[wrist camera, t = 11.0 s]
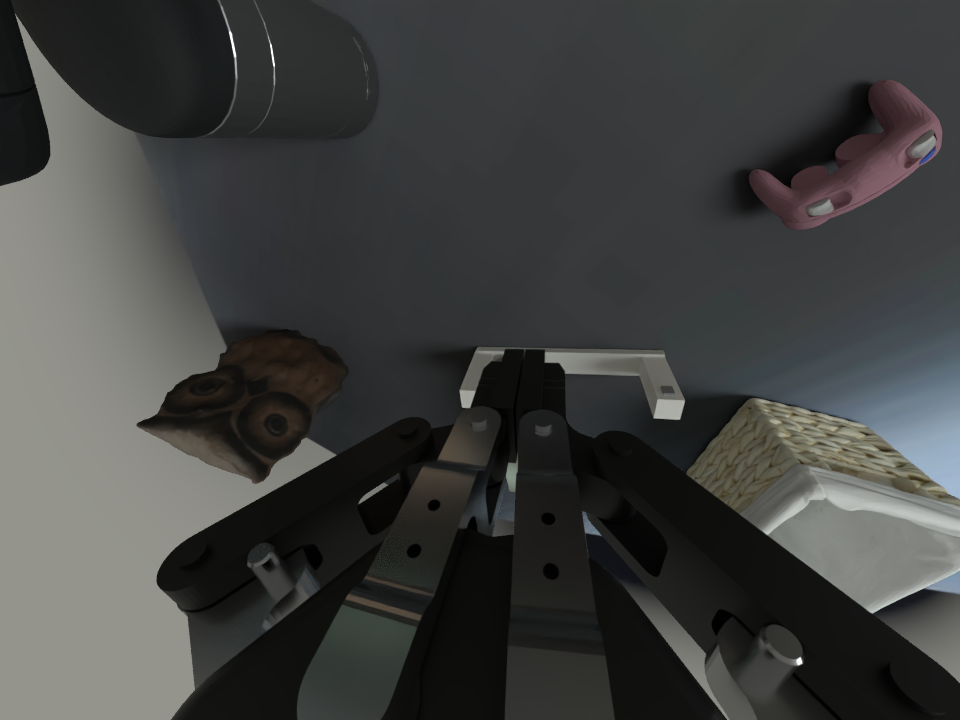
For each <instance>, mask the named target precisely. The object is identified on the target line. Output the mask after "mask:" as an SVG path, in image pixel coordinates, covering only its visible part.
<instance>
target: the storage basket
mask: <svg viewBox="0 0 960 720" xmlns="http://www.w3.org/2000/svg"><path fill="white" fill-rule="evenodd" d="M686 474H687V475H688V476H689V477H691V478H692V479H693V480H695V481H696V482H697V483H699V484H700V485H701V486H703V487H704V488H705V489H707V490H708V491H709V492H711V493H712V494H713V495H715V496H716V497H717V498H719V499H720V500H721V501H723V502H724V503H725V504H727V505H728V506H729V507H731V508H732V509H733V510H735V511H736V512H737V513H739V514H740V515H741V516H743V517H744V518H745V519H747V520H748V521H749V522H751V523H752V524H753V525H755V526H756V527H757V528H758V529H760V530H761V531H762V532H764V533H765V534H766V535H768V536H769V537H770V538H772V539H773V540H774V541H776V542H777V543H778V544H780V545H781V546H782V547H784V548H785V549H786V550H788V551H789V552H790V553H792V554H793V555H794V556H796V557H797V558H798V559H800V560H801V561H802V562H804V563H805V564H806V565H808V566H809V567H810V568H812V569H813V570H814V571H816V572H817V573H818V574H820V575H821V576H822V577H824V578H825V579H826V580H828V581H829V582H830V583H832V584H833V585H834V586H836V587H837V588H838V589H840V590H841V591H842V592H844V593H845V594H846V595H848V596H849V597H850V598H852V599H853V600H854V601H856V602H857V603H858V604H860V605H861V606H862V607H864V608H865V609H866V610H868V611H869V612H870V613H873V612H875V611H877V610H879V609H881V608H883V607H885V606H887V605H889V604H891V603H893V602H895V601H897V600H899V599H901V598H903V597H905V596H907V595H910V594H912V593H914V592H916V591H919V590H921V589H923V588H925V587H927V586H929V585H932V584H934V583H936V582H938V581H940V580H942V579H944V578H946V577H948V576H950V575H952V574H954V573H956V572H958V571H960V500H959V499H958V498H956V497H954V496H951V495H949V494H948V492H947V491H946V490H945V489H944V488H943V487H942V486H940V485H939V484H937V483H936V482H934V481H933V480H932V479H931V478H929V477H928V476H927V475H925V473H924V472H923V471H921V470H920V469H919V468H918V467H916V466H915V465H914V464H912V463H911V462H910V461H909V460H908V459H906V458H905V457H904V456H903V455H902V454H901V453H900V452H898V451H896V450H895V449H894V448H893V447H892V446H891V445H890V444H889V443H887V442H886V441H885V440H884V439H883V438H881V437H880V436H879V435H877V434H876V433H875V432H874V431H873V430H871V429H870V428H869V427H867V426H865V425H863V424H860V423H857V422H852V421H847V420H845V419H842V418H838V417H832V416H829V415H826V414H823V413H818V412H810V411H809V410H806V409H803V408H800V407H794V406H786V405H784V404H781V403H777V402H770V401H767V400H764V399H759V398H751V399H748V400H747V401H746V402H745V403H744V405H743V406H742V407H741V408H739V409H738V411H737V413H736V414H735V415H734V416H733V417H732V419H731V420H730V422H729V423H727V424H726V425H725V427H724V428H723V429H722V430H721V432H720V433H719V435H718V436H717V437H715V438H714V439H713V440H712V441H711V442H710V443H709V445H708V446H707V448H706V450H705V451H704V452H703V453H702V454H701V455H700V456H699V458H698V459H697V460H696V462H695V463H694V464H693V465H692V466H691V467H690V468H689V469H688V471H687V473H686Z"/></svg>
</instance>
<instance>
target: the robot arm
mask: <svg viewBox="0 0 960 720" xmlns="http://www.w3.org/2000/svg"><path fill="white" fill-rule="evenodd" d="M15 14H16V15H17V17H18V18H19V20H20V21H21V22H22V24H23V25H24V27H25V29H26V30H27V32H28V33H29V35H30V37H31V38H32V40H33V41H34V43H35V44H36V46H37V47H38V48H39V50H40V51H41V53H42V54H43V55H44V57H45V58H46V59H47V60H48V62H49V63H50V64H51V66H52V67H53V68H54V69H55V70H56V71H57V73H58V74H59V75H60V76H61V77H62V79H63V80H64V81H65V82H66V83H67V84H68V85H69V86H70V87H71V88H72V89H73V90H74V91H75V92H76V93H77V94H78V95H79V96H80V97H81V98H82V99H83V100H85V101H86V102H87V103H88V104H90V105H91V106H92V107H93V108H94V109H95V110H97V111H98V112H100V113H101V114H102V115H104V116H105V117H107V118H109V119H110V120H112V121H113V122H115V123H117V124H119V125H121V126H123V127H125V128H127V129H129V130H132V131H135V132H138V133H141V134H145V135H148V136H154V137H163V138H196V137H197V138H237V137H254V138H348V137H351V136H354V135H356V134H358V133H359V132H361V131H362V130H363V129H364V128H365V127H366V126H367V124H368V123H369V122H370V120H371V118H372V116H373V114H374V111H375V108H376V103H377V97H378V82H377V73H376V69H375V65H374V61H373V58H372V56H371V54H370V51H369V49H368V47H367V45H366V43H365V42H364V40H363V39H362V37H361V36H360V34H359V33H358V32H357V31H356V30H355V29H354V28H353V27H352V25H351V24H349V23H348V22H347V21H345V20H344V19H342V18H341V17H339V16H337V15H336V14H334V13H332V12H330V11H328V10H327V9H325V8H323V7H321V6H319V5H317V4H316V3H314V2H313V1H311V0H0V186H2V185H6V184H10V183H13V182H17V181H20V180H23V179H26V178H29V177H31V176H33V175H35V174H37V173H38V172H40V171H41V170H43V169H44V168H45V166H46V165H47V163H48V160H49V157H50V140H49V134H48V128H47V125H46V121H45V117H44V114H43V110H42V106H41V102H40V99H39V95H38V91H37V88H36V85H35V83H34V82H35V81H34V77H33V74H32V70H31V67H30V63H29V60H28V56H27V53H26V50H25V47H24V43H23V39H22V36H21V33H20V29H19V26H18V22H17V19H16V16H15ZM517 453H518V472H517V473H516V487H515V511H514V535H506V536H497V537H492V536H493V531H494V527H495V523H496V519H497V515H498V511H499V507H500V503H501V500H502V496H503V492H504V488H505V484H506V473H507V468H508V463H516V460H517ZM396 474H397V476H398V479H397V480H396V481H394V482H393V483H391V484H389V485H388V486H386V487H385V488H383V489H382V490H380V491H379V492H377V493H376V494H374V495H373V496H371V497H370V498H368V499H367V500H365V501H364V502H362V503H360V504H358V503H359V501H360V499H361V498H362V497H363V496H364V495H365V494H366V493H368V492H370V491H371V490H373V489H374V488H376V487H377V486H379V485H380V484H382V483H383V482H385V481H387V480H388V479H390V478H391V477H393V476H394V475H396ZM582 511H584V512H586V514H587V517H588V519H589V521H590V522H591V523H592V525H593V526H594V527H595V528H596V529H597V530H598V531H599V533H600V534H601V535H602V536H603V537H604V538H605V539H606V540H607V542H608V543H609V544H610V545H611V546H612V547H613V549H614V550H615V551H616V552H617V553H618V554H619V555H620V556H621V558H622V559H623V560H624V561H625V562H626V563H627V564H628V566H629V567H630V568H631V569H632V570H633V571H634V572H635V573H636V575H637V576H638V577H639V578H640V579H641V580H642V581H643V583H644V584H645V585H646V586H647V587H648V588H649V589H650V591H652V593H653V594H654V595H655V596H656V597H657V599H658V600H659V601H660V602H661V603H662V604H663V605H664V606H665V608H666V609H667V610H668V611H669V612H670V613H671V614H672V616H673V617H674V618H675V619H676V620H677V621H678V622H679V624H680V625H681V626H682V627H683V628H684V629H685V630H686V631H687V633H688V634H689V635H690V636H691V637H692V638H693V639H694V640H695V642H696V643H697V644H698V645H699V646H700V647H701V649H703V651H704V652H705V653H706V657H705V674H706V677H707V681H708V684H709V686H710V689H711V690H712V692H713V694H714V696H715V698H716V699H717V701H718V702H719V704H720V705H721V707H722V708H723V710H724V711H725V713H726V714H727V716H728V717H729V719H730V720H960V683H959V682H958V681H957V680H956V679H955V678H954V677H953V676H952V675H951V674H950V673H948V672H947V671H946V670H945V669H944V668H943V667H942V666H940V665H939V664H938V663H937V662H935V661H934V660H933V659H931V658H930V657H929V656H928V655H926V654H925V653H924V652H922V651H921V650H920V649H918V648H917V647H915V646H914V645H913V644H912V643H910V642H909V641H908V640H906V639H905V638H904V637H902V636H901V635H900V634H898V633H897V632H896V631H894V630H893V629H892V628H890V627H889V626H888V625H886V624H885V623H884V622H882V621H881V620H880V619H878V618H877V617H875V616H874V615H873V614H872V613H870V612H869V611H868V610H866V609H865V608H864V607H862V606H861V605H860V604H858V603H857V602H856V601H854V600H853V599H852V598H850V597H849V596H848V595H846V594H845V593H844V592H842V591H841V590H840V589H838V588H837V587H836V586H834V585H833V584H832V583H830V582H829V581H828V580H826V579H825V578H824V577H822V576H821V575H820V574H818V573H817V572H816V571H814V570H813V569H812V568H810V567H809V566H808V565H806V564H805V563H804V562H802V561H801V560H800V559H798V558H797V557H796V556H794V555H793V554H792V553H790V552H789V551H788V550H786V549H785V548H784V547H782V546H781V545H780V544H778V543H777V542H776V541H774V540H773V539H772V538H770V537H769V536H768V535H766V534H765V533H764V532H762V531H761V530H760V529H758V528H757V527H756V526H755V525H753V524H752V523H751V522H749V521H748V520H747V519H745V518H744V517H743V516H741V515H740V514H739V513H737V512H736V511H735V510H733V509H732V508H731V507H729V506H728V505H727V504H725V503H724V502H723V501H721V500H720V499H719V498H717V497H716V496H715V495H713V494H712V493H711V492H709V491H708V490H707V489H705V488H704V487H703V486H701V485H700V484H699V483H697V482H696V481H695V480H693V479H692V478H691V477H689V476H688V475H687V474H685V473H684V472H683V471H681V470H680V469H679V468H677V467H676V466H675V465H673V464H672V463H671V462H669V461H668V460H667V459H665V458H664V457H663V456H661V455H660V454H659V453H657V452H656V451H655V450H653V449H652V448H651V447H649V446H648V445H647V444H645V443H644V442H643V441H641V440H640V439H639V438H637V437H636V436H634V435H632V434H629V433H626V432H622V431H607V432H604V433H601V434H600V435H598V436H597V437H596V438H592V437H589V436H586V435H583V434H581V433H579V432H577V431H575V430H574V429H573V428H572V427H571V426H570V425H569V424H568V422H567V420H566V406H565V370H564V369H563V368H562V366H561V365H560V364H559V363H546V362H545V349H526V350H524V349H505V351H504V355H503V358H502V361H491V362H490V363H489V364H488V365H486V366H485V367H484V368H483V371H482V374H481V378H480V380H479V383H478V386H477V389H476V392H475V395H474V397H473V400H472V403H471V406H470V408H469V409H467V410H465V411H464V412H462V413H461V414H460V415H459V417H458V418H457V420H456V422H455V424H452V425H449V426H444V427H439V428H433V429H431V425H430V423H429V422H428V421H427V420H425V419H423V418H419V417H410V418H405V419H402V420H400V421H398V422H396V423H394V424H392V425H390V426H389V427H387V428H385V429H383V430H381V431H380V432H378V433H376V434H374V435H372V436H371V437H369V438H367V439H365V440H364V441H362V442H360V443H358V444H356V445H355V446H353V447H351V448H349V449H347V450H346V451H344V452H342V453H340V454H338V455H337V456H335V457H333V458H331V459H330V460H328V461H326V462H324V463H322V464H321V465H319V466H317V467H315V468H313V469H312V470H310V471H308V472H306V473H304V474H303V475H301V476H299V477H297V478H296V479H294V480H292V481H290V482H288V483H287V484H285V485H283V486H281V487H279V488H278V489H276V490H274V491H272V492H270V493H269V494H267V495H265V496H263V497H262V498H260V499H258V500H256V501H254V502H252V503H251V504H249V505H247V506H245V507H243V508H242V509H240V510H238V511H236V512H235V513H233V514H231V515H229V516H228V517H226V518H224V519H222V520H220V521H219V522H217V523H215V524H213V525H211V526H210V527H208V528H206V529H204V530H202V531H201V532H199V533H197V534H195V535H193V536H192V537H190V538H188V539H187V540H185V541H184V542H183V543H181V544H180V545H179V546H178V547H176V548H175V549H174V550H173V551H172V552H171V553H170V554H169V555H168V557H167V558H166V559H165V560H164V562H163V563H162V565H161V567H160V569H159V571H158V574H157V585H158V586H159V587H160V589H161V590H163V591H164V592H165V593H166V594H167V595H168V596H169V597H170V598H171V599H172V600H173V601H175V602H176V603H177V606H178V608H179V609H180V610H181V611H182V612H183V613H184V614H185V615H186V616H188V624H189V634H190V643H191V654H192V664H193V674H194V684H195V691H194V692H193V693H192V694H191V695H190V696H189V698H188V699H187V700H186V701H185V702H184V703H183V704H182V706H181V707H180V709H179V710H178V711H177V712H176V714H175V715H174V717H173V718H172V719H171V720H727V719H726V718H725V716H724V715H723V714H722V712H721V711H720V710H719V709H718V707H717V706H716V705H715V703H714V702H713V701H712V700H711V698H710V697H709V696H708V694H707V693H706V692H705V691H704V689H703V688H702V687H701V686H700V684H699V683H698V682H697V680H696V679H695V678H694V676H693V675H692V674H691V673H690V671H689V670H688V669H687V667H686V666H685V665H684V664H683V662H682V661H681V660H680V658H679V657H678V656H677V655H676V653H675V652H674V651H673V649H672V648H671V647H670V646H669V645H668V643H667V642H666V640H665V639H664V638H663V637H662V635H661V634H660V633H659V632H658V630H657V629H656V627H655V626H654V625H653V624H652V622H651V621H650V620H649V618H648V617H647V616H646V615H645V613H644V612H643V611H642V609H640V607H639V606H638V605H637V603H636V602H635V600H634V599H633V598H632V597H631V595H630V594H629V593H628V592H627V590H626V589H625V588H624V587H623V585H622V584H621V583H620V582H619V581H618V580H617V579H616V578H615V577H614V576H613V575H612V574H611V573H610V572H609V571H608V570H607V569H605V568H604V567H603V566H602V565H600V564H599V563H597V562H596V561H594V560H593V559H591V558H589V557H588V551H587V544H586V537H585V530H584V523H583V516H582Z"/></svg>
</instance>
